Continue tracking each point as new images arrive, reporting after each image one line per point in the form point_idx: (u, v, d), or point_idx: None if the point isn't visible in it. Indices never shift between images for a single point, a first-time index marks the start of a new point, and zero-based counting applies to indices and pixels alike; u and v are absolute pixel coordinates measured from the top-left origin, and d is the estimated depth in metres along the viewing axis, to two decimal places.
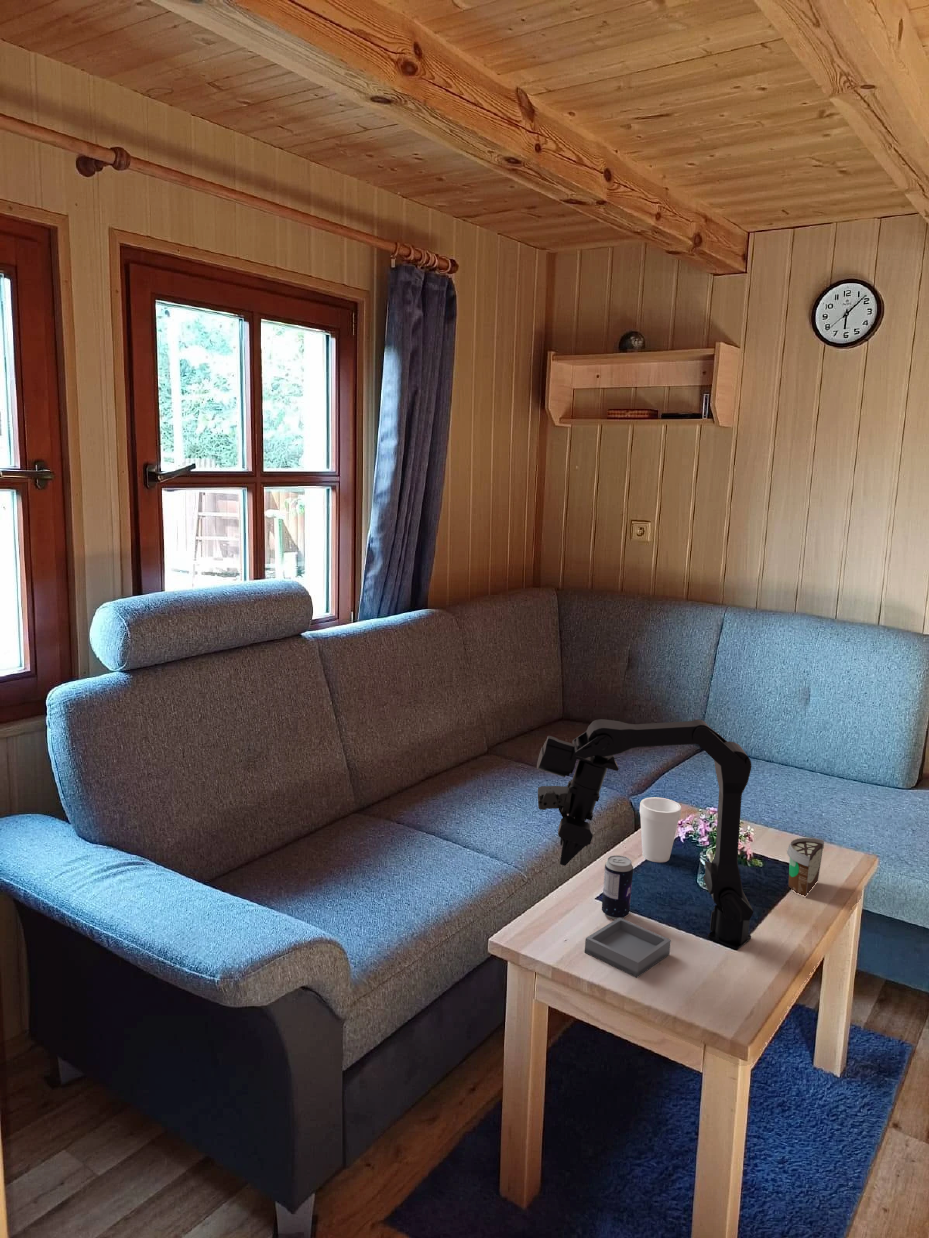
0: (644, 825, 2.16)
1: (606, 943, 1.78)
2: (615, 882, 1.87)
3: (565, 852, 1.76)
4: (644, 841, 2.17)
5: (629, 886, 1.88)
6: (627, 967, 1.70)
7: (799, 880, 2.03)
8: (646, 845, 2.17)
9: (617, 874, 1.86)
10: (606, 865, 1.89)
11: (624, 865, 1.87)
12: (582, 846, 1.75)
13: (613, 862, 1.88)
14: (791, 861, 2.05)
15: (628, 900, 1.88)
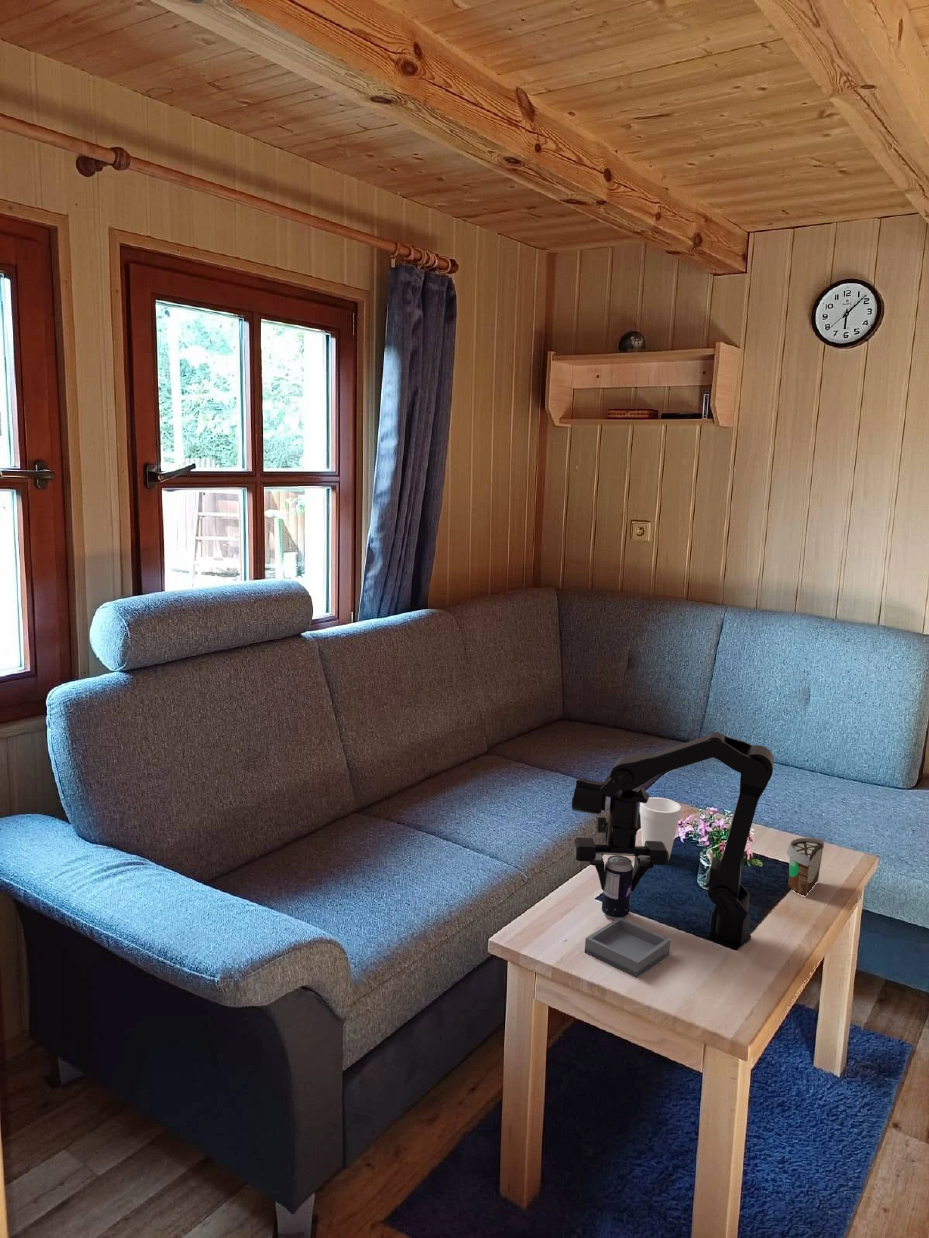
0: (644, 825, 2.16)
1: (606, 943, 1.78)
2: (615, 882, 1.87)
3: (598, 874, 1.90)
4: (644, 841, 2.17)
5: (629, 886, 1.88)
6: (627, 967, 1.70)
7: (799, 880, 2.03)
8: None
9: (617, 874, 1.86)
10: (606, 865, 1.89)
11: (624, 865, 1.87)
12: None
13: (613, 862, 1.88)
14: (791, 861, 2.05)
15: (628, 900, 1.88)
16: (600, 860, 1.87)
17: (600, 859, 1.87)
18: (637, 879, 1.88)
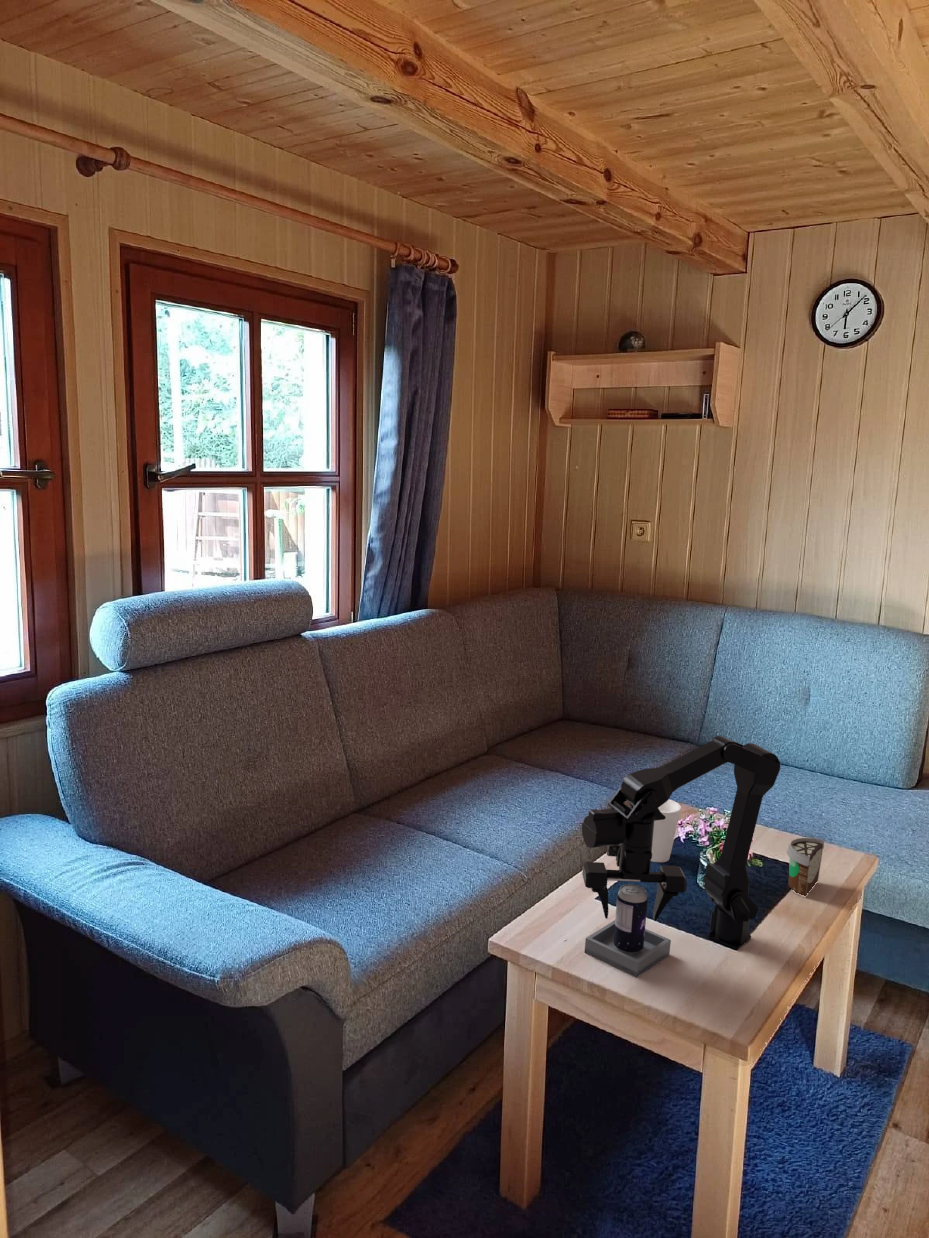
0: None
1: (606, 943, 1.78)
2: (628, 914, 1.72)
3: (601, 901, 1.75)
4: None
5: (643, 918, 1.73)
6: (627, 967, 1.70)
7: (799, 880, 2.03)
8: None
9: (630, 905, 1.72)
10: (618, 895, 1.74)
11: (638, 895, 1.72)
12: None
13: (626, 892, 1.73)
14: (791, 861, 2.05)
15: (642, 933, 1.74)
16: (603, 886, 1.72)
17: None
18: (660, 908, 1.73)
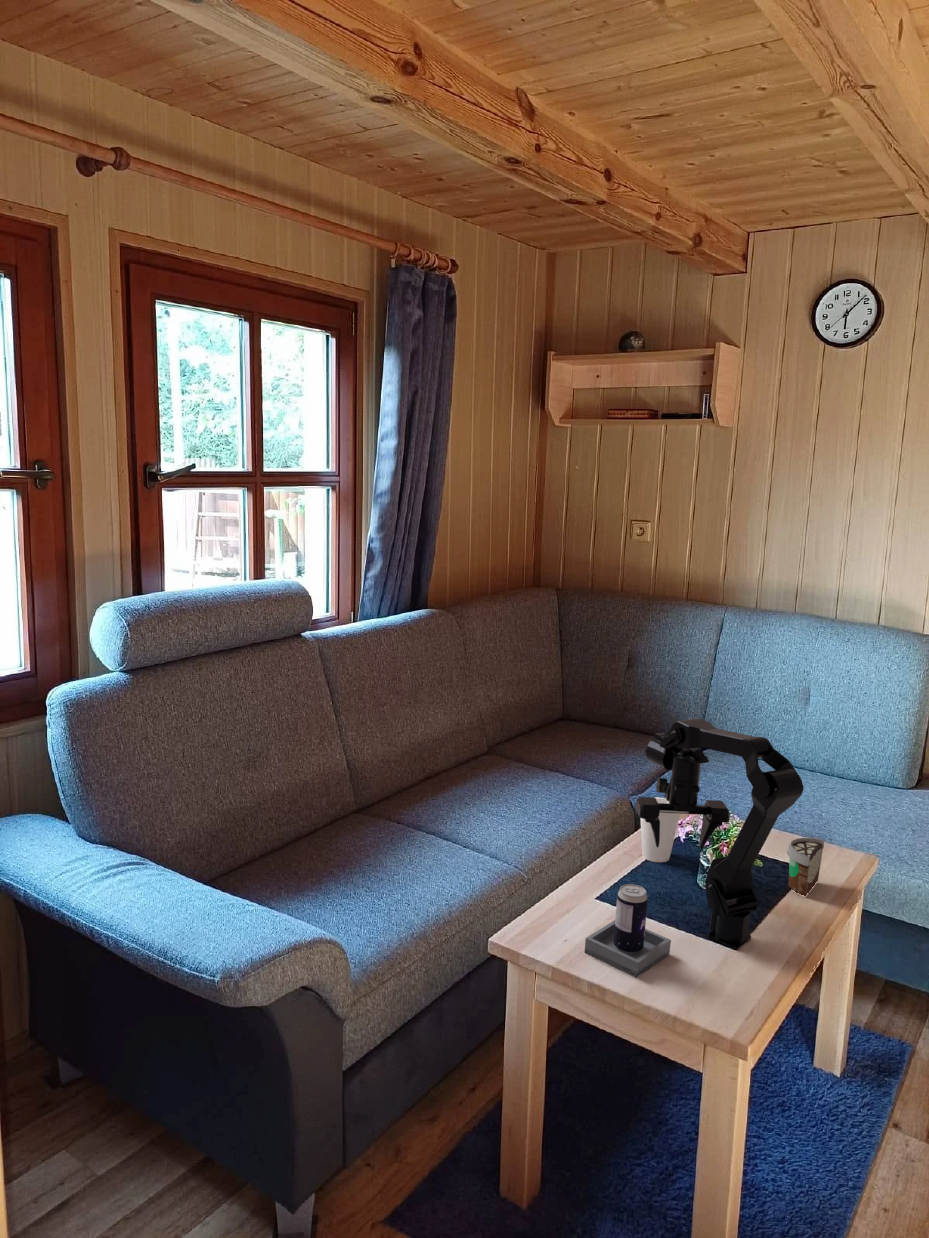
0: (644, 825, 2.16)
1: (606, 943, 1.78)
2: (628, 914, 1.72)
3: (652, 831, 1.96)
4: (644, 841, 2.17)
5: (643, 918, 1.73)
6: (627, 967, 1.70)
7: (799, 880, 2.03)
8: (646, 845, 2.17)
9: (630, 905, 1.72)
10: (618, 895, 1.74)
11: (638, 895, 1.72)
12: None
13: (626, 892, 1.73)
14: (791, 861, 2.05)
15: (642, 933, 1.74)
16: None
17: None
18: (706, 837, 1.94)
